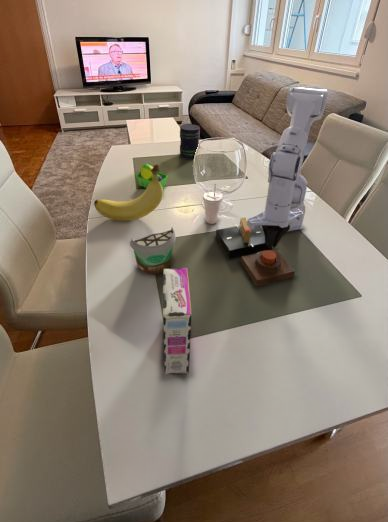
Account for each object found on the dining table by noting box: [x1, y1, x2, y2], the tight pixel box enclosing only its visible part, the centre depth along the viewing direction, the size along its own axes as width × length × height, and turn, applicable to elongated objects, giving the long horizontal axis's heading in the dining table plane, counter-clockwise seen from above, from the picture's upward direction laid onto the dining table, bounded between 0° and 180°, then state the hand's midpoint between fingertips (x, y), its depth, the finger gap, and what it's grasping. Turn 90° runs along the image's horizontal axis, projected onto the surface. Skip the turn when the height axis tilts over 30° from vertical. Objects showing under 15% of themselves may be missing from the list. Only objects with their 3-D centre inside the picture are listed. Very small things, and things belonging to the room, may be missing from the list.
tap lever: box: [239, 217, 251, 243], centre depth 88 cm, size 7×2×4 cm, turn 3°
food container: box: [129, 227, 177, 275], centre depth 78 cm, size 12×6×10 cm, turn 117°
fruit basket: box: [135, 163, 169, 189], centre depth 118 cm, size 11×9×11 cm
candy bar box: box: [162, 267, 192, 375], centre depth 57 cm, size 11×5×16 cm, turn 5°
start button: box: [261, 250, 276, 264], centre depth 79 cm, size 4×4×2 cm
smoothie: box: [202, 183, 223, 225], centre depth 98 cm, size 6×6×14 cm
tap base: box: [215, 223, 273, 259], centre depth 90 cm, size 14×11×3 cm
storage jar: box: [179, 123, 201, 160], centre depth 148 cm, size 10×10×15 cm
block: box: [240, 249, 296, 287], centre depth 80 cm, size 11×9×4 cm
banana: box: [93, 164, 164, 221], centre depth 96 cm, size 23×6×20 cm, turn 92°
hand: (270, 245), depth 77 cm, fingers closed
